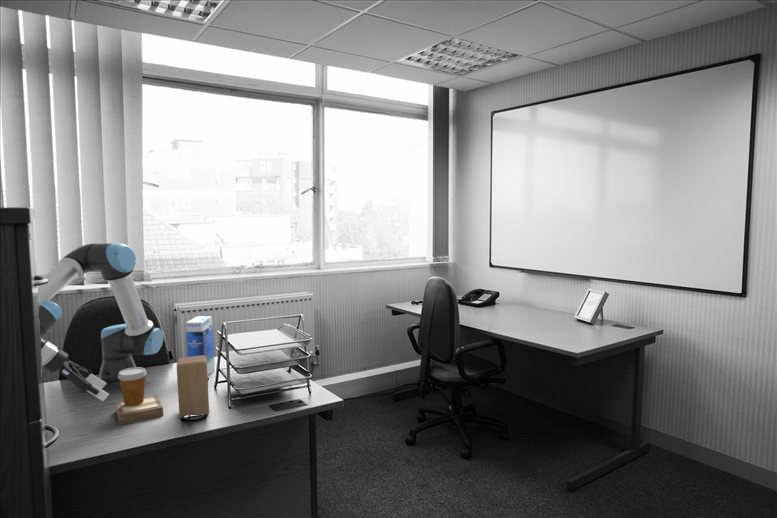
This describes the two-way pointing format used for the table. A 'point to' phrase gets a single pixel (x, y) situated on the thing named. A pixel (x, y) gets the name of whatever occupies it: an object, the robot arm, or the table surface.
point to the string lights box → (201, 339)
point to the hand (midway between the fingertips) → (104, 392)
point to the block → (192, 385)
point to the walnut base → (139, 410)
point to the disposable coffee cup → (132, 385)
